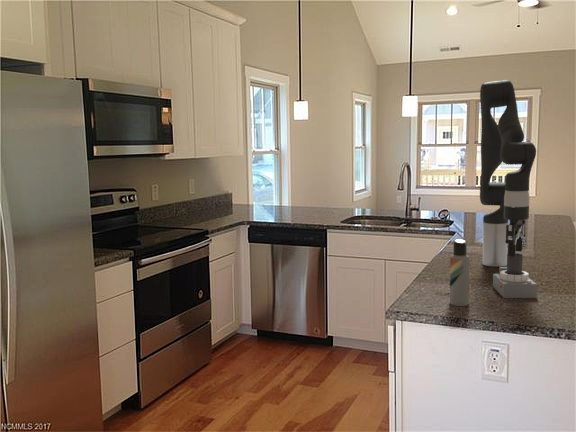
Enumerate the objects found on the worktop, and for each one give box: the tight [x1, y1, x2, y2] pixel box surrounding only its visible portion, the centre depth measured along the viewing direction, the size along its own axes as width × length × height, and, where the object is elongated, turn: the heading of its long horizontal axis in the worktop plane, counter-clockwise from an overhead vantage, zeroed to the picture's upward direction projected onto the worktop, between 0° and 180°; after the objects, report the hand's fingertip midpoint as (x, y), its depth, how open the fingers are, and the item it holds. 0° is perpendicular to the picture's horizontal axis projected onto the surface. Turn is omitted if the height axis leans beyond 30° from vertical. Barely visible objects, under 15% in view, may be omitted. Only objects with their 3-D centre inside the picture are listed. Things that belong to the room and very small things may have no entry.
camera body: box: [492, 266, 538, 299], centre depth 180 cm, size 14×11×7 cm
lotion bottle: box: [449, 238, 471, 307], centre depth 168 cm, size 6×6×20 cm
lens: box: [506, 253, 524, 275], centre depth 179 cm, size 5×5×8 cm
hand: (515, 253), depth 179 cm, fingers open, 8 cm apart
